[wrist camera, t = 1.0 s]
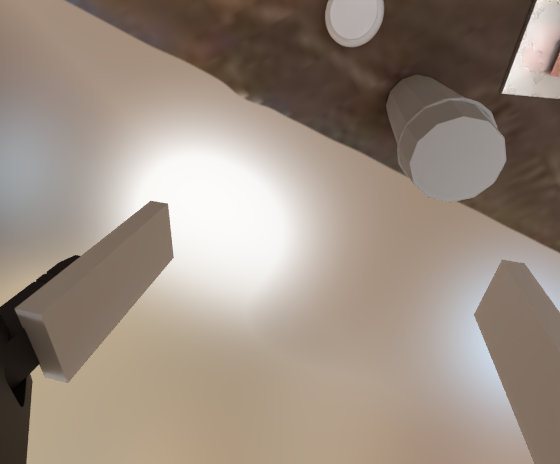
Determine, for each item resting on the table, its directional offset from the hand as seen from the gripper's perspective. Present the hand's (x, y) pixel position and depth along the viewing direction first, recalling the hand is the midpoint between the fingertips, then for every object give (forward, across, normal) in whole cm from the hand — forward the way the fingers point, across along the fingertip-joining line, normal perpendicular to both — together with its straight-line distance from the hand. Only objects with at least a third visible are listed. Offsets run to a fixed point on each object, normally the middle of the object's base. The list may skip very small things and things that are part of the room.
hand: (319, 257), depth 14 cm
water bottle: (+40, +9, 0) cm, 41 cm away
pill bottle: (+40, -1, +10) cm, 41 cm away
